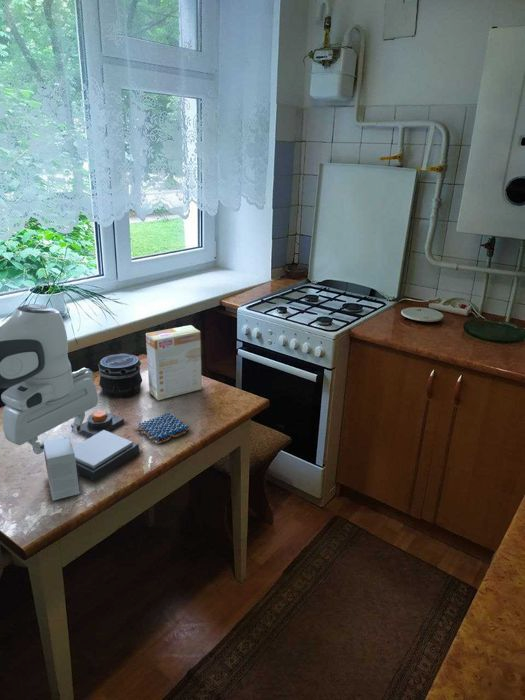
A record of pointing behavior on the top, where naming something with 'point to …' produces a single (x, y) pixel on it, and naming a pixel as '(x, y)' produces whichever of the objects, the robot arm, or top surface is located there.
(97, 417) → the tare button
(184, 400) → the top surface
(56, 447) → the small box
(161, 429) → the woven mat
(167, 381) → the coffeecake box
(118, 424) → the dark grey button base
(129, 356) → the container
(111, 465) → the scale
